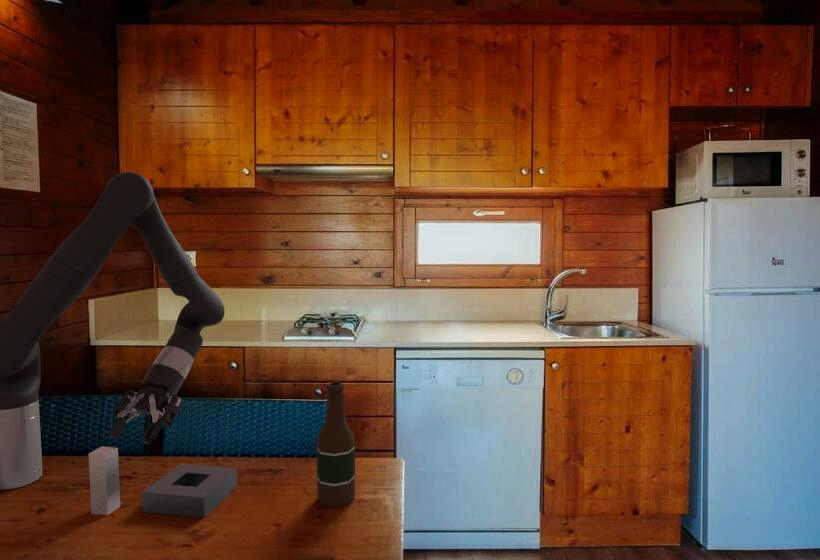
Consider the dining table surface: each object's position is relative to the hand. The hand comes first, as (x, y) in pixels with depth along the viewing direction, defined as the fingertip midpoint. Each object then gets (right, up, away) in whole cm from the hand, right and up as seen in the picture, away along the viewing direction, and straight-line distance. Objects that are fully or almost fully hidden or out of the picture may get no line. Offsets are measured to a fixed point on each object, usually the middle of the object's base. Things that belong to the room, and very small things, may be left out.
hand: (129, 440), depth 110 cm
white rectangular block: (-2, -12, -5) cm, 13 cm away
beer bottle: (+42, -12, 0) cm, 44 cm away
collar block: (+13, -12, 0) cm, 18 cm away
